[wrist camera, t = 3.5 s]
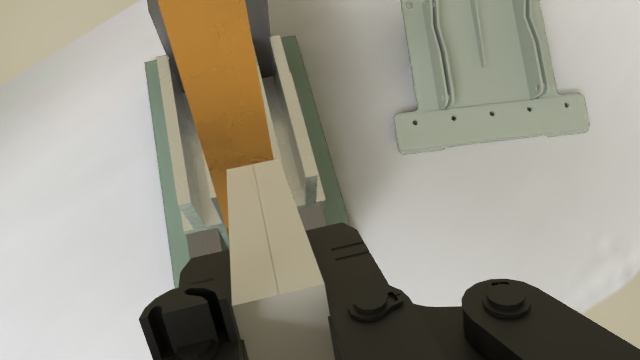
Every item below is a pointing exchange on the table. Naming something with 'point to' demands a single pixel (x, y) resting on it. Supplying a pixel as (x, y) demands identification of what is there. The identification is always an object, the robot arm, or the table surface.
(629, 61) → the table surface
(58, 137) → the table surface
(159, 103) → the grey green railed plate
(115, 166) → the table surface
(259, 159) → the strap
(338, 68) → the table surface
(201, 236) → the heat sink
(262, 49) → the slotted lug
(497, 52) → the metal bracket
